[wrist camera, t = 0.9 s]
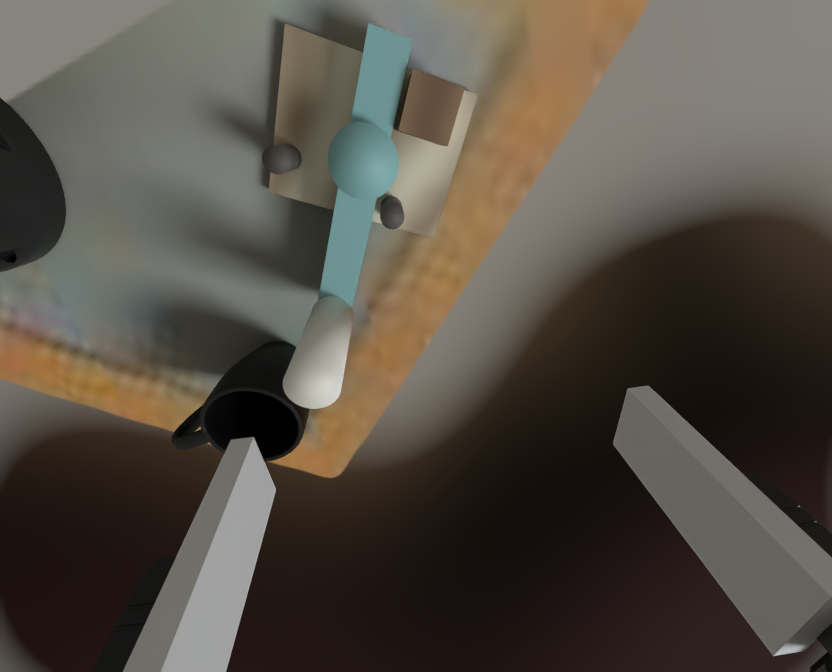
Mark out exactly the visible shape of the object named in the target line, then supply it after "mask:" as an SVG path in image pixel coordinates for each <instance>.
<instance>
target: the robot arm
mask: <svg viewBox="0 0 832 672" xmlns="http://www.w3.org/2000/svg"><path fill="white" fill-rule="evenodd" d="M65 215H66V207H65V198H64V193H63V189H62V185H61V182H60V179H59V176H58V174H57V171H56V169H55V167H54V165H53V162H52V160H51V159H50V157H49V155H48V153H47V152H46V150H45V148H44V147H43V145H42V144H41V142H40V141H39V139H38V138H37V137H36V135H35V134H34V133H33V131H32V130H31V129H30V128H29V126H28V125H27V124H26V123H25V122H24V121H23V119H22V118H21V117H20V116H19V115H18V114H17V113H16V112H15V111H14V110H13V109H12V108H11V107H10V106H9V105H8V104H7V103H6V102H4V101H3V100H2V99H1V98H0V272H3V271H7V270H10V269H13V268H16V267H19V266H22V265H25V264H28V263H31V262H33V261H35V260H37V259H39V258H41V257H43V256H44V255H46V254H47V253H48V252H49V251H50V250H51V249H52V248H53V247H54V246H55V244H56V243H57V242H58V240H59V238H60V236H61V234H62V231H63V228H64V223H65ZM613 445H614V446H615V447H616V448H617V450H618V451H619V453H620V454H621V455H622V456H623V457H624V459H625V460H626V462H627V463H628V464H629V466H630V467H631V468H632V470H633V471H634V472H635V474H636V475H637V476H638V478H639V479H640V480H641V482H642V483H643V484H644V486H645V487H646V488H647V490H648V491H649V492H650V493H651V495H652V496H653V498H654V499H655V500H656V501H657V503H658V504H659V505H660V507H661V508H662V509H663V511H664V512H665V513H666V515H667V516H668V517H669V519H670V520H671V521H672V523H673V524H674V525H675V526H676V528H677V529H678V530H679V532H680V533H681V534H682V536H683V537H684V538H685V540H686V541H687V542H688V544H689V545H690V546H691V548H692V549H693V550H694V552H695V553H696V554H697V556H698V557H699V558H700V560H701V561H702V562H703V564H704V565H705V566H706V567H707V569H708V570H709V572H710V573H711V574H712V576H713V577H714V578H715V579H716V581H717V582H718V583H719V585H720V586H721V587H722V589H723V590H724V591H725V593H726V594H727V595H728V597H729V598H730V599H731V601H732V602H733V603H734V605H735V606H736V607H737V608H738V610H739V611H740V613H741V614H742V615H743V616H744V618H745V619H746V620H747V622H748V623H749V624H750V626H751V627H752V628H753V629H754V631H755V632H756V633H757V635H758V636H759V638H760V639H761V640H762V641H763V643H764V644H765V646H766V647H767V648H768V649H769V651H770V652H771V653H772V655H773V656H776V655H782V654H788V653H794V652H800V651H805V650H806V649H807V648H808V647H809V646H810V645H811V644H812V643H813V642H814V641H815V640H816V639H817V640H818V641H819V642H820V643H821V644H822V646H823V647H824V648H825V649H826V650H827V651H828V652H827V653H826V654H825V655H824V656H822V657H821V658H820V659H819V660H818V661H817V662H815V663H814V664H813V665H812V666H811V667H810V672H832V534H831V533H829V531H827V530H826V529H825V528H824V527H823V526H822V525H818V524H817V521H816V520H815V519H814V518H813V517H812V516H811V515H809V514H808V513H807V512H806V511H805V510H802V509H801V508H800V506H799V505H798V504H797V503H796V502H795V501H794V500H792V499H791V498H790V497H789V496H788V495H787V494H786V493H784V492H783V491H782V490H781V489H780V488H779V487H777V486H775V485H774V484H772V483H770V482H769V481H767V480H765V479H764V478H761V477H760V476H759V475H757V474H750V475H743V474H742V473H741V472H740V471H739V470H738V469H737V468H736V467H735V466H733V465H732V464H731V463H730V462H729V461H728V460H727V459H726V458H725V457H724V456H723V455H722V454H721V453H720V452H718V450H716V449H715V448H714V447H713V446H712V445H711V444H710V443H709V442H708V441H707V440H706V439H705V438H704V437H703V436H702V435H700V434H699V433H698V432H697V431H696V430H695V429H694V428H693V427H692V426H691V425H690V424H689V423H688V422H687V421H686V420H684V419H683V418H682V417H681V416H680V415H679V414H678V413H677V412H676V411H675V410H674V409H672V407H671V406H670V405H668V404H667V403H666V402H665V401H664V400H663V399H662V398H661V397H660V396H659V395H658V394H657V393H656V392H654V390H652V389H651V388H650V387H649V386H643V387H636V388H628V389H627V393H626V397H625V401H624V405H623V408H622V412H621V416H620V419H619V423H618V427H617V431H616V435H615V438H614V442H613ZM275 492H276V489H275V486H274V484H273V481H272V479H271V477H270V474H269V472H268V470H267V467H266V465H265V462H264V460H263V458H262V455H261V453H260V451H259V448H258V446H257V443H256V441H255V439H254V437H249V438H241V439H234V440H231V441H230V443H229V445H228V447H227V449H226V451H225V454H224V456H223V458H222V460H221V462H220V464H219V466H218V469H217V471H216V473H215V475H214V477H213V479H212V482H211V484H210V486H209V488H208V490H207V492H206V495H205V496H204V499H203V501H202V503H201V505H200V508H199V510H198V511H197V514H196V516H195V518H194V520H193V522H192V524H191V526H190V529H189V531H188V533H187V535H186V537H185V539H184V542H183V544H182V546H181V548H180V550H179V552H178V554H177V557H173V558H166V559H159V560H157V561H156V562H155V563H154V564H153V565H152V566H151V568H150V569H149V570H148V571H147V572H146V573H145V575H144V576H143V577H142V578H141V579H140V580H139V582H138V583H137V585H136V587H135V589H134V591H133V593H132V595H131V597H130V599H129V601H128V602H127V604H126V609H125V611H123V612H122V614H121V616H120V618H119V620H118V621H117V623H116V626H115V630H114V632H112V633H111V635H110V637H109V639H108V641H107V642H106V644H105V646H104V648H103V650H102V652H101V654H100V656H99V658H98V660H97V661H96V664H95V665H94V667H93V669H92V671H91V672H226V669H227V666H228V662H229V659H230V655H231V651H232V648H233V644H234V640H235V637H236V633H237V629H238V625H239V622H240V618H241V615H242V611H243V608H244V604H245V600H246V597H247V593H248V590H249V586H250V582H251V579H252V575H253V571H254V568H255V564H256V561H257V557H258V553H259V549H260V546H261V542H262V539H263V535H264V531H265V528H266V524H267V521H268V517H269V513H270V510H271V506H272V503H273V499H274V495H275Z"/></svg>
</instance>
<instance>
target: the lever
mask: <svg viewBox="0 0 832 672" xmlns="http://www.w3.org/2000/svg"><path fill="white" fill-rule="evenodd" d="M412 41H413V40H411V39H408V38H406V37H403V36H400V35H398V34H395V33H393V32H390V31H388V30H385V29H382V28H380V27H377V26H375V25H372V24H370V23H368V28H367V34H366V39H365V45H364V50H363V56H362V61H361V67H360V73H359V78H358V84H357V89H356V95H355V100H354V106H353V112H352V117H351V123H350V124H348V125H346V126H345V127H343V128H342V129H340V130H339V131H338V132H337V133H336V135H335V136H334V137H333V139H332V141H331V144H330V146H329V151H328V166H329V170H330V173H331V176H332V178H333V180H334V182H335V183H336V185H337V186H338V191H337V197H336V202H335V208H334V214H333V219H332V225H331V230H330V236H329V242H328V247H327V253H326V258H325V264H324V270H323V275H322V281H321V286H320V292H319V298H318V301H317V302H316V303H315V305H314V307H313V309H312V311H311V314H310V316H309V319H308V321H307V323H306V326H305V328H304V331H303V333H302V335H301V338H300V340H299V343H298V345H297V347H296V350H295V352H294V354H293V357H292V359H291V362H290V364H289V366H288V369H287V371H286V374H285V376H284V378H283V389H284V392H285V394H286V395H287V397H288V398H289V399H290V400H291V401H292V402H294V403H295V404H297V405H299V406H301V407H305V408H310V409H318V408H323V407H326V406H329V405H331V404H332V403H333V402H335V401H336V400H337V398H338V397H339V395H340V392H341V386H342V381H343V375H344V369H345V363H346V358H347V352H348V346H349V340H350V334H351V329H352V323H353V315H354V314H353V310H352V306H353V301H354V297H355V292H356V288H357V284H358V279H359V275H360V270H361V266H362V262H363V257H364V253H365V248H366V244H367V240H368V235H369V231H370V226H371V222H372V218H373V213H374V209H375V204H376V200H377V198H378V197H380V196H382V195H383V194H385V193H386V192H387V191H388V190H389V189H390V188H391V187H392V185H393V184H394V182H395V180H396V177H397V174H398V169H399V158H398V153H397V149H396V147H395V144H394V143H393V141H392V139H391V134H392V129H393V125H394V120H395V116H396V112H397V107H398V103H399V98H400V94H401V90H402V85H403V81H404V76H405V72H406V67H407V63H408V59H409V54H410V50H411V45H412Z"/></svg>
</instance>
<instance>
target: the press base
mask: <svg viewBox="0 0 832 672" xmlns="http://www.w3.org/2000/svg"><path fill="white" fill-rule="evenodd" d="M362 56H363V52H360V51H358V50H355V49H352V48H350V47H347V46H344V45H342V44H339V43H336V42H334V41H331V40H328V39H325V38H323V37H320V36H317V35H315V34H312V33H309V32H307V31H304V30H301V29H299V28H296V27H293V26H290V25H288V24H285V27H284V38H283V48H282V58H281V69H280V79H279V89H278V100H277V110H276V120H275V131H274V141H273V145H271V146H269V147H267V148H266V149H265V150H264V152H263V157H262V158H263V163H264V165H265V167H266V168H267V169H268V170H269V171H270V182H269V192H270V193H273V194H277V195H281V196H284V197H288V198H291V199H295V200H298V201H302V202H306V203H309V204H313V205H316V206H320V207H323V208H327V209H331V210H334V208H335V202H336V197H337V191H338V186H337V185H336V183H335V182H334V180H333V178H332V176H331V173H330V170H329V166H328V151H329V146H330V144H331V141H332V139H333V137H334V136H335V135H336V133H337V132H338V131H339V130H340V129H342V128H343V127H345V126H346V125H348V124H350V123H351V117H352V112H353V106H354V100H355V95H356V89H357V84H358V78H359V73H360V67H361V61H362ZM411 72H412V70H409V69H406V72H405V76H404V81H403V85H402V90H401V94H400V98H399V103H398V107H397V112H396V116H395V120H394V125H393V129H392V134H391V139H392V141H393V143H394V144H395V147H396V149H397V153H398V158H399V169H398V174H397V177H396V180H395V182H394V184H393V185H392V187H391V188H390V189H389V190H388V191H387V192H386V193H385V194H383V195H382V196H380V197H378V198H377V200H376V204H375V209H374V213H373V218H372V221H374V222H377V223H381V224H383V225H384V226H385V227H386V228H389V229H396V228H399V229H402V230H406V231H409V232H413V233H417V234H420V235H424V236H427V237H431V238H434V235H435V232H436V228H437V225H438V222H439V219H440V216H441V212H442V209H443V206H444V203H445V199H446V196H447V193H448V190H449V187H450V183H451V180H452V177H453V174H454V170H455V167H456V164H457V161H458V158H459V154H460V151H461V148H462V145H463V141H464V138H465V135H466V132H467V128H468V125H469V122H470V119H471V116H472V112H473V109H474V106H475V103H476V99H477V96H478V95H476V94H474V93H471V92H468V91H465V90H464V93H463V96H462V100H461V103H460V107H459V110H458V113H457V117H456V120H455V124H454V127H453V130H452V134H451V137H450V141H449V144H448V146H441V145H438V144H435V143H432V142H429V141H426V140H423V139H420V138H417V137H414V136H411V135H408V134H405V133H402V132H399V131H397V128H398V124H399V120H400V115H401V111H402V107H403V102H404V98H405V94H406V90H407V85H408V81H409V77H410V75H411Z"/></svg>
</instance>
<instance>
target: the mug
mask: <svg viewBox="0 0 832 672" xmlns="http://www.w3.org/2000/svg"><path fill="white" fill-rule="evenodd" d="M295 350H296V347H295V346H293V345H291V344H288V343H285V342H270V343H266V344H264V345H262V346H261V347H259V348H258V349H256V350H255V351H253V352H251V353H250V354H248V355H247V356H246V357H244V358H243V359H242V360H240V361H239V362H238V363H236V364H235V365H234V366H233V367H232V368H231V369H230V370H229V371H228V372H227V373H226V374H225V375H224V376H223V377H222V378H221V380H220V381H219V382H218V384H217V385H216V387H215V388H214V389H213V391H212V392H211V394H210V395H209V397H208V398H207V400H206V401H205V403H204V404H203V405H202V406H201V407H200V408H199V409H197V410H196V411H195V412H194V413H193V414H192V415H190V416H189V417H188V418H187V419H186V420H185V421H184V422H183V423H182V424H181V425H180V426H179V427H178V428H177V429H176V431H175V432H174V434H173V435H172V443H173V445H174V446H175V447H176V448H177V449H181V450H186V449H191V448H194V447H197V446H200V445H203V444H206V443H208V442H210V443H211V444H212V445H213V446H214V447H215V448H217V449H218V450H219V451H221V452H222V453H224V454H225V451H226V449H227V447H228V445H229V443H230V441H231V440H234V439H241V438H249V437H254V439H255V441H256V443H257V446H258V448H259V451H260V453H261V455H262V458H263V460H264V462H266V461H272V460H276V459H279V458H282V457H284V456H286V455H287V454H289V453H290V452H292V451H293V450H294V449H295V448H296V447H297V446H298V445H299V443H300V441H301V439H302V437H303V433H304V430H305V426H306V422H307V418H308V414H309V409H310V408H305V407H301V406H299V405H297V404H295V403H294V402H292V401H291V400H290V399H289V398H288V397H287V395H286V394H285V392H284V389H283V378H284V376H285V374H286V371H287V369H288V366H289V364H290V362H291V359H292V357H293V354H294V352H295ZM200 426H201V430H198V431H196V430H197V429H198V428H199V427H200ZM195 431H196V432H195Z"/></svg>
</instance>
